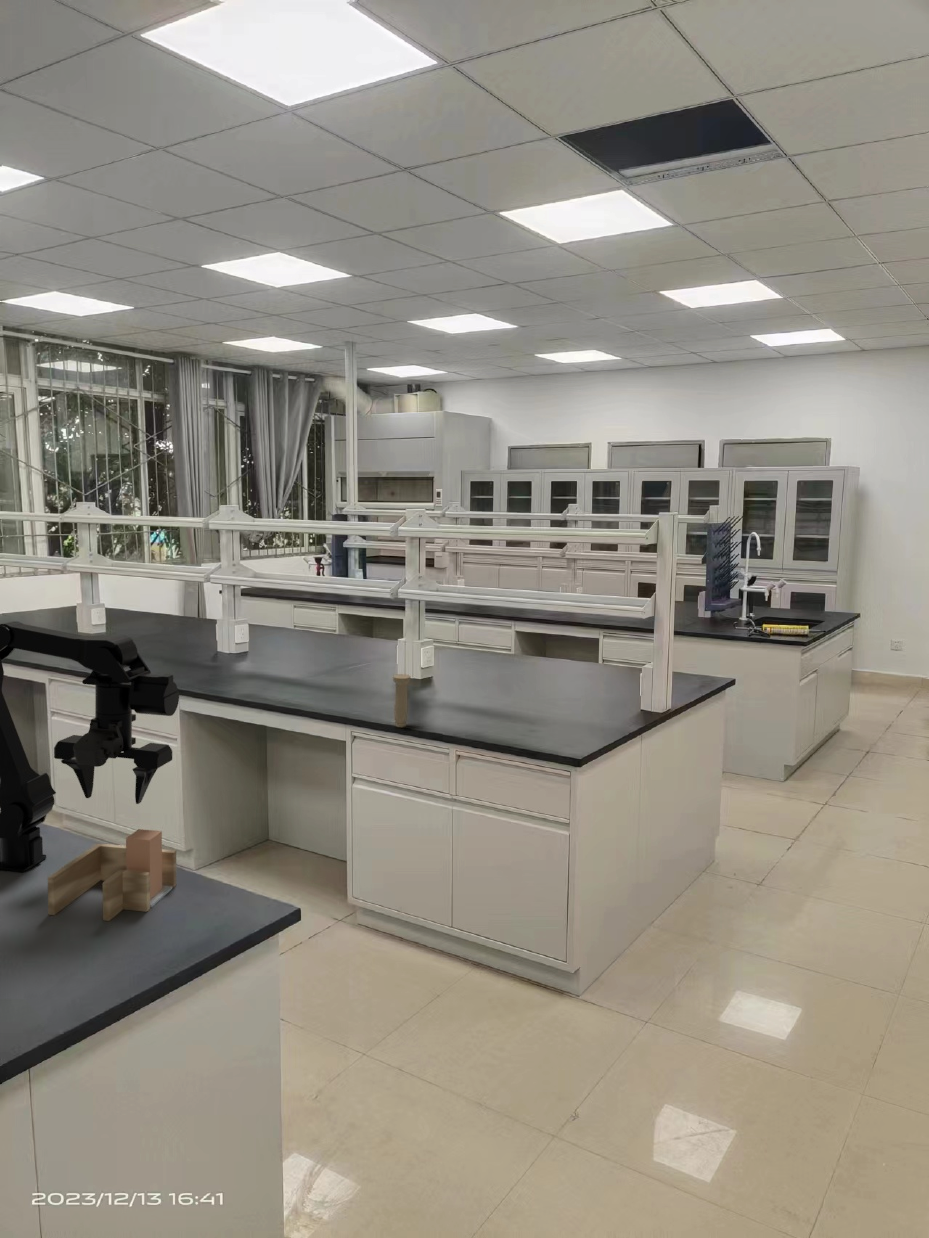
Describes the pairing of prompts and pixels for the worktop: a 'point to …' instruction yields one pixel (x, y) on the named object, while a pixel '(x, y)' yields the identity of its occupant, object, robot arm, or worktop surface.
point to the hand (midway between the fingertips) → (113, 800)
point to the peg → (146, 856)
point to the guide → (108, 880)
